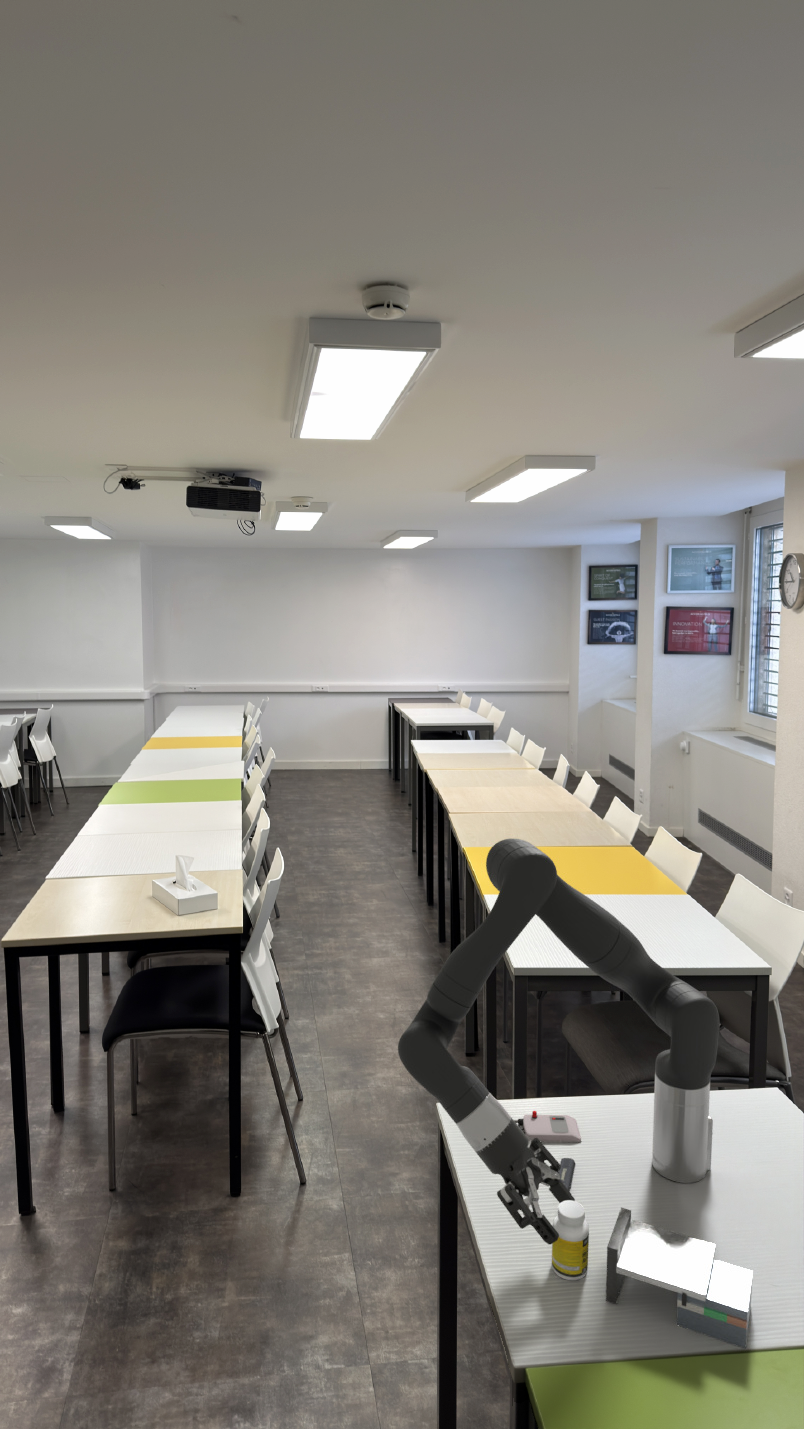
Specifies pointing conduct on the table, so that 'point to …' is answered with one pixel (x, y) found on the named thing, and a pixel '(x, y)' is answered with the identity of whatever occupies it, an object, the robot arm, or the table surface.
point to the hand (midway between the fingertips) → (562, 1222)
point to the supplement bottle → (570, 1241)
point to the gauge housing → (721, 1305)
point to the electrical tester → (550, 1128)
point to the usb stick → (567, 1171)
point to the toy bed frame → (657, 1259)
